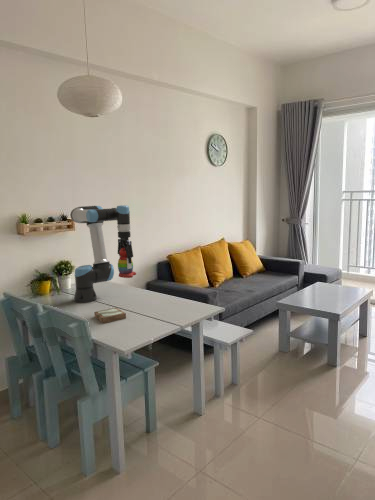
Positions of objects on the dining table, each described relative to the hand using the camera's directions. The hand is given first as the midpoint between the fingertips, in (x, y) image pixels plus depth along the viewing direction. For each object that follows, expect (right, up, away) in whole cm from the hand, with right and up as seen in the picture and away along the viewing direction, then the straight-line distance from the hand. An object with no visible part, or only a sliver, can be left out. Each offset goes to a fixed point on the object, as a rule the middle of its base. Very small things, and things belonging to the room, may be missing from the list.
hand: (125, 267), depth 237 cm
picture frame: (-8, -30, -9) cm, 32 cm away
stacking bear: (0, -6, +1) cm, 6 cm away
